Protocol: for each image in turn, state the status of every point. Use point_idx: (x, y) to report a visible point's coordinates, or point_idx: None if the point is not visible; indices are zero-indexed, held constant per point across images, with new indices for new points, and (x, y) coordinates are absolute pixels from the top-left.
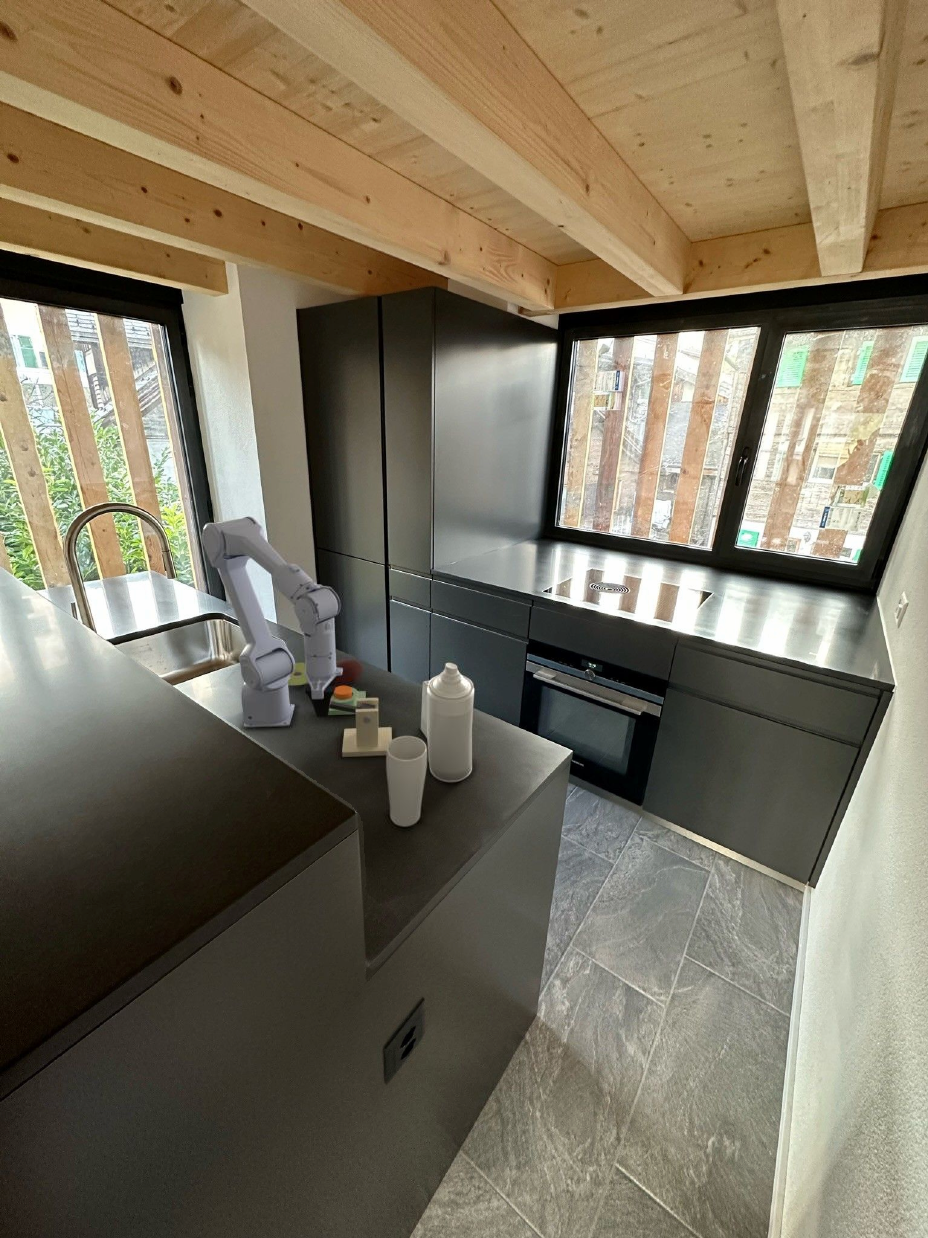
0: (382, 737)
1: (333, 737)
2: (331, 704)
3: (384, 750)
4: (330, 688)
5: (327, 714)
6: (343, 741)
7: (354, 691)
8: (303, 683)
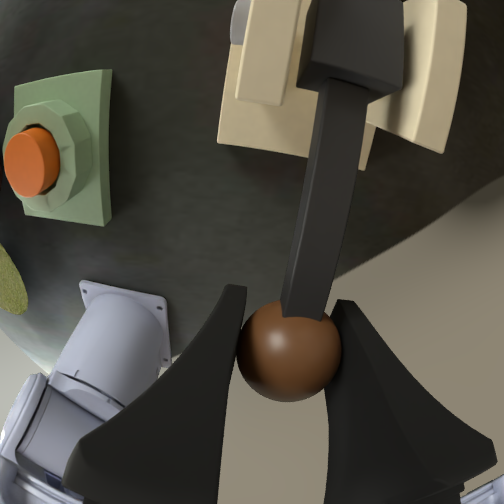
0: None
1: (238, 180)
2: (320, 315)
3: None
4: (453, 485)
5: (359, 309)
6: (302, 156)
7: (21, 121)
8: (12, 264)
